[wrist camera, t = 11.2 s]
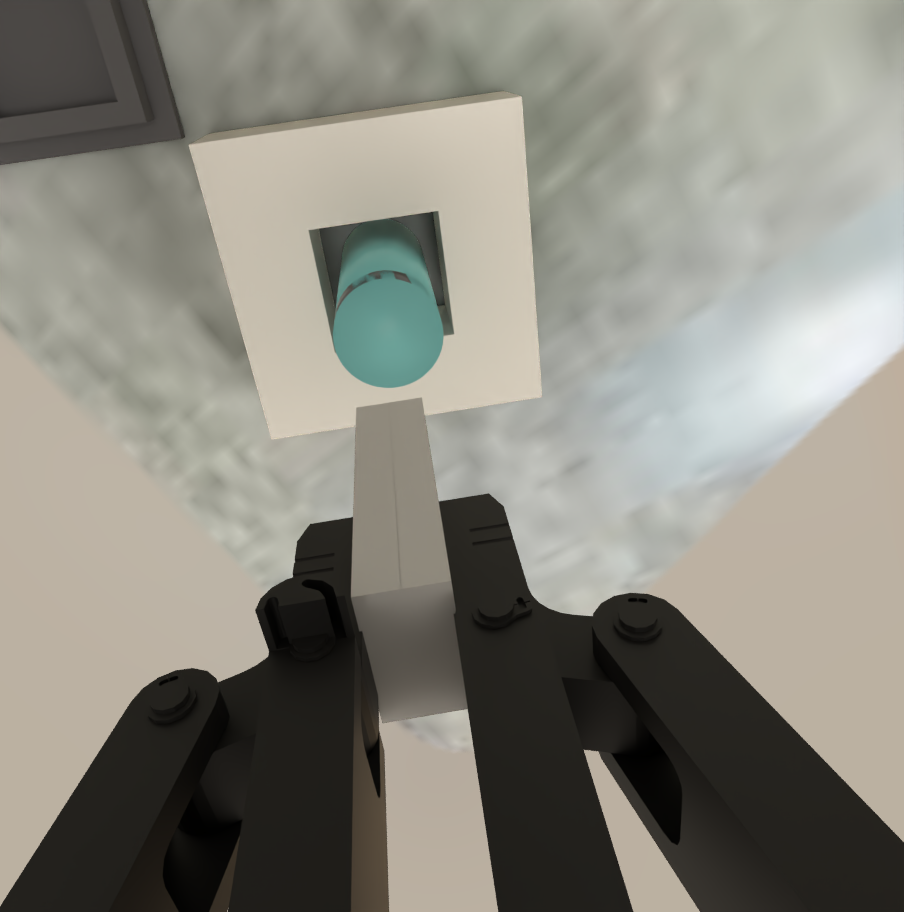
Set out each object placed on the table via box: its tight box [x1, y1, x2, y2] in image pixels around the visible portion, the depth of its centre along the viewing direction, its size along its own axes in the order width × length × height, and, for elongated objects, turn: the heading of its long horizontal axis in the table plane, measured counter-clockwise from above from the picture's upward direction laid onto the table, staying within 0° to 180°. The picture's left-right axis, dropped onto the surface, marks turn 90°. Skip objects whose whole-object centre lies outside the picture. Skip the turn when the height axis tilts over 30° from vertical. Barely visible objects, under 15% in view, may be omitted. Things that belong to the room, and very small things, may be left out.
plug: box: [333, 219, 444, 388], centre depth 28 cm, size 4×4×10 cm
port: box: [189, 91, 542, 439], centre depth 31 cm, size 12×12×4 cm
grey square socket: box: [0, 0, 185, 165], centre depth 26 cm, size 8×8×2 cm
